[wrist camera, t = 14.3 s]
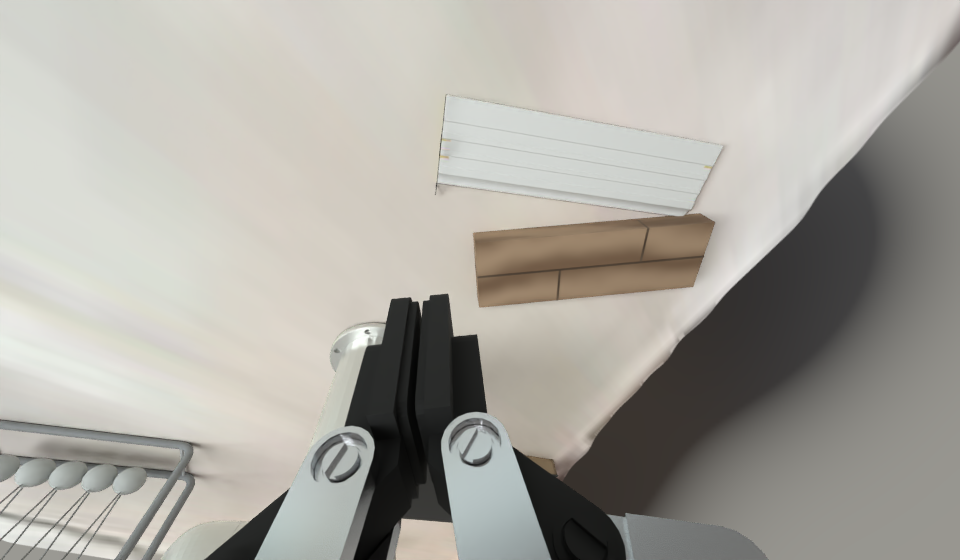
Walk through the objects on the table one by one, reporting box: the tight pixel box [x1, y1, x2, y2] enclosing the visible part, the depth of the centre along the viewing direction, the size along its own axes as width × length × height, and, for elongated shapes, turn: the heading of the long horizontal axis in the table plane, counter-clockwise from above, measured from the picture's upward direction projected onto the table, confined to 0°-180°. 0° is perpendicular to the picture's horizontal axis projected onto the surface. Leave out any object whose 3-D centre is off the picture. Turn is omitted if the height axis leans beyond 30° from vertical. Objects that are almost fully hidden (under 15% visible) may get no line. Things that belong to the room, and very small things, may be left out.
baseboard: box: [435, 94, 723, 216], centre depth 37 cm, size 30×3×10 cm
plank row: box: [473, 214, 715, 307], centre depth 42 cm, size 9×28×3 cm, turn 93°
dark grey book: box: [402, 456, 558, 523], centre depth 68 cm, size 33×4×24 cm
